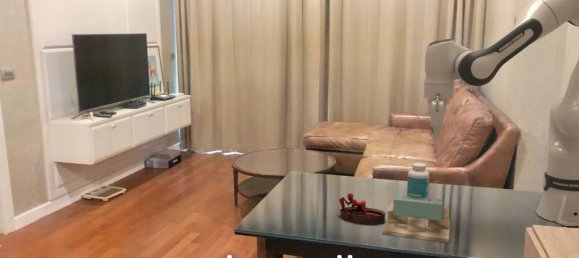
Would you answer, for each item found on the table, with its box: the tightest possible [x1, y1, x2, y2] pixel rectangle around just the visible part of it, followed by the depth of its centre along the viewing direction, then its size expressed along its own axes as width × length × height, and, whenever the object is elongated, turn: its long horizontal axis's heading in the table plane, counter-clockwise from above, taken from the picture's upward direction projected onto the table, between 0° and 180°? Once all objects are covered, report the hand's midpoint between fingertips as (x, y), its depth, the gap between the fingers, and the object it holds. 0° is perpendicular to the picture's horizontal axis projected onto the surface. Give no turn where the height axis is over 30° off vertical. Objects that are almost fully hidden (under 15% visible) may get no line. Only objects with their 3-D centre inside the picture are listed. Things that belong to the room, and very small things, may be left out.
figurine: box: [338, 192, 386, 226], centre depth 157 cm, size 15×10×10 cm, turn 79°
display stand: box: [382, 201, 451, 244], centre depth 149 cm, size 19×16×5 cm
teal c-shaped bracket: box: [393, 194, 444, 221], centre depth 150 cm, size 14×12×5 cm
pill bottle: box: [406, 162, 430, 201], centre depth 173 cm, size 8×7×14 cm
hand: (437, 135), depth 153 cm, fingers open, 8 cm apart
